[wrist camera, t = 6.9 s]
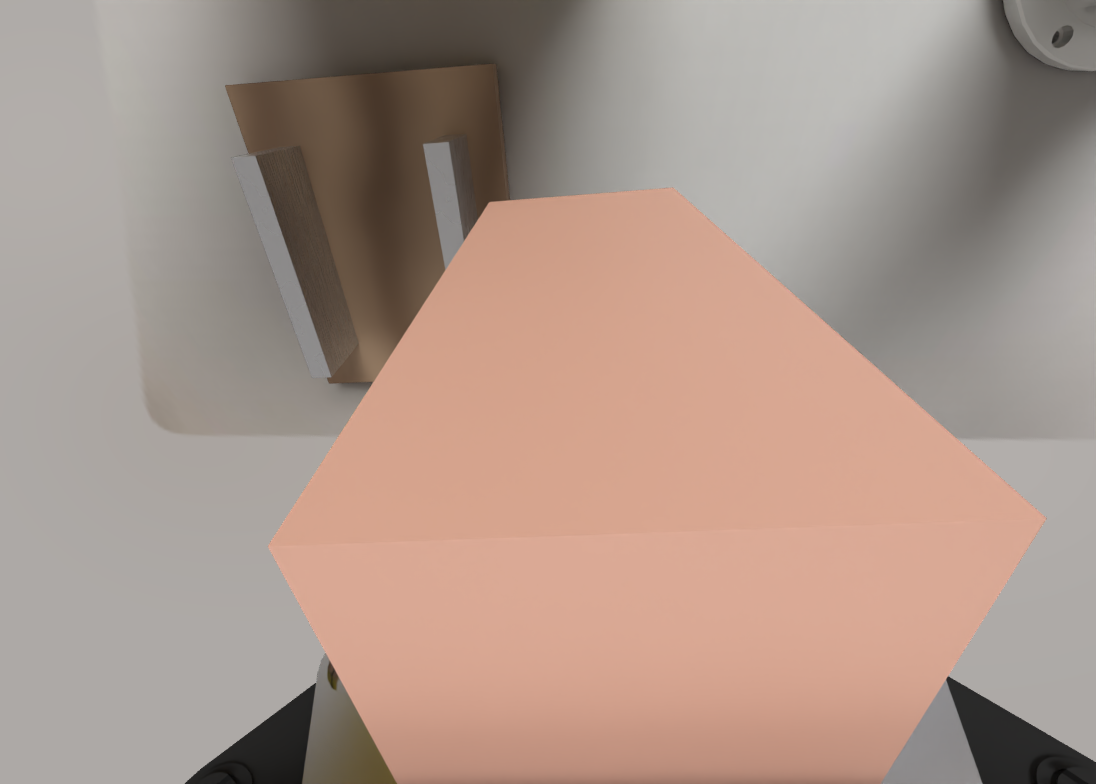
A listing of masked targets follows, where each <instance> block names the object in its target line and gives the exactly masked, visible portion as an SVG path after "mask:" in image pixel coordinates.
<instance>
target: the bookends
mask: <svg viewBox="0 0 1096 784" xmlns="http://www.w3.org/2000/svg"><path fill="white" fill-rule="evenodd" d="M423 148H424V153H425V159H426V164H427V170H428V176H429V181H430V187H431V192H432V198H433V203H434V209H435V215H436V220H437V226H438V231H439V237H440V242H441V248H442V254H443V259H444V265H445V270H446V269H447V267H448V266H449V264H450V262H451V261H452V259H453V258H454V256H455V255H456V253H457V252H458V250H459V248H460V247H461V245H462V244H463V242H464V241H465V239H466V238H467V236H468V234H469V233H470V231H471V230H472V228H473V227H474V225H475V224H476V222H477V220H478V217H477V209H476V202H475V195H474V187H473V180H472V173H471V165H470V158H469V151H468V143H467V136H466V134H456V135H444V136H441V137H439V138H436V139H434V140H431V141H429V142H426V143H424V144H423ZM231 159H232V162H233V165H234V168H235V170H236V173H237V176H238V178H239V181H240V184H241V187H242V189H243V192H244V195H245V197H246V200H247V203H248V206H249V208H250V211H251V214H252V216H253V219H254V222H255V225H256V227H257V230H258V233H259V235H260V238H261V241H262V244H263V246H264V249H265V252H266V254H267V257H268V260H269V263H270V265H271V268H272V271H273V273H274V276H275V279H276V282H277V284H278V287H279V290H280V292H281V295H282V298H283V301H284V303H285V306H286V309H287V311H288V314H289V317H290V320H291V322H292V325H293V328H294V330H295V333H296V336H297V339H298V341H299V344H300V347H301V349H302V352H303V355H304V358H305V360H306V363H307V366H308V368H309V371H310V374H311V377H312V378H326V377H332V376H333V375H334V374H335V372H336V371H337V370H338V369H339V367H340V366H341V365H342V364H343V363H344V361H345V360H346V359H347V358H348V356H349V355H350V354H351V353H352V351H353V350H354V349H355V348H356V347H357V345H358V344H359V343H358V339H357V336H356V332H355V329H354V326H353V322H352V319H351V316H350V312H349V309H348V306H347V302H346V299H345V296H344V292H343V289H342V285H341V282H340V279H339V275H338V272H337V269H336V265H335V262H334V259H333V255H332V252H331V249H330V245H329V242H328V238H327V235H326V232H325V228H324V225H323V222H322V218H321V215H320V212H319V208H318V205H317V202H316V198H315V195H314V191H313V188H312V185H311V181H310V178H309V175H308V171H307V168H306V165H305V161H304V158H303V155H302V151H301V148H300V146H290V147H278V148H273V149H269V150H264V151H259V152H255V153H250V154H245V155H241V156H236V157H231Z"/></svg>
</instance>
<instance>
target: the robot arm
mask: <svg viewBox="0 0 1096 784" xmlns="http://www.w3.org/2000/svg"><path fill="white" fill-rule="evenodd" d="M1003 3H1004V10H1005V15H1006V17H1007V20H1008V22H1009V24H1010V27H1011V29H1012V31H1013V34H1014V36H1015V37H1016V39H1017V40H1018V41H1019V42H1020V43H1021V45H1022V46H1023V47H1024V48H1025V50H1026V51H1027V52H1028V53H1029V54H1031V55H1032V56H1034V57H1036V58H1037V59H1039V60H1040V61H1042V62H1043V63H1045V64H1047V65H1050V66H1054V67H1057V68H1061V69H1064V70H1074V71H1096V0H1003ZM185 784H397V783H396V781H395V779H394V777H393V776H392V774H391V772H390V770H389V768H388V766H387V765H386V763H385V761H384V759H383V757H382V755H381V754H380V752H379V750H378V748H377V746H376V744H375V742H374V741H373V739H372V737H371V735H370V733H369V731H368V730H367V728H366V726H365V724H364V722H363V720H362V719H361V717H360V715H359V713H358V711H357V709H356V708H355V706H354V704H353V702H352V700H351V698H350V697H349V695H348V693H347V691H346V689H345V687H344V685H343V684H342V682H341V680H340V678H339V676H338V674H337V673H336V671H335V669H334V667H333V665H332V663H331V662H330V660H329V658H328V656H327V654H326V653H325V655H324V656H323V658H322V660H321V664H320V667H319V670H318V674H317V681H316V683H315V684H314V685H312V686H311V687H310V688H308V689H307V690H306V691H304V692H303V693H302V694H300V695H299V696H298V697H297V698H295V699H294V700H292V701H291V702H290V703H288V704H287V705H286V706H284V707H283V708H282V709H281V710H279V711H278V712H276V713H275V714H274V715H272V716H271V717H270V718H268V719H267V720H266V721H264V722H263V723H262V724H260V725H259V726H258V727H256V728H255V729H254V730H252V731H251V732H249V733H248V734H247V735H245V736H244V737H243V738H241V739H240V740H239V741H237V742H236V743H235V744H233V745H232V746H231V747H229V748H228V749H227V750H225V751H224V752H223V753H221V754H220V755H219V756H217V757H216V758H215V759H214V760H212V761H211V762H209V763H208V764H207V765H205V766H204V767H203V768H201V769H200V770H199V771H198V772H197V773H196V774H195V775H194V776H193V777H191V778H190V779H189V780H188V781H187V782H186V783H185ZM881 784H1096V762H1094V761H1093V760H1091V759H1089V758H1088V757H1086V756H1084V755H1082V754H1081V753H1079V752H1077V751H1076V750H1074V749H1072V748H1070V747H1069V746H1067V745H1065V744H1063V743H1062V742H1060V741H1058V740H1056V739H1055V738H1053V737H1051V736H1050V735H1048V734H1046V733H1045V732H1043V731H1041V730H1039V729H1038V728H1036V727H1034V726H1033V725H1031V724H1029V723H1027V722H1026V721H1024V720H1022V719H1021V718H1019V717H1017V716H1015V715H1014V714H1012V713H1010V712H1008V711H1007V710H1005V709H1003V708H1002V707H1000V706H998V705H996V704H995V703H993V702H991V701H990V700H988V699H986V698H984V697H983V696H981V695H979V694H977V693H976V692H974V691H972V690H971V689H969V688H967V687H966V686H964V685H962V684H960V683H958V682H957V681H955V680H953V679H952V678H950V677H947V678H946V680H945V682H944V683H943V685H942V686H941V688H940V690H939V691H938V693H937V694H936V696H935V698H934V699H933V701H932V702H931V704H930V706H929V707H928V709H927V710H926V712H925V714H924V715H923V717H922V718H921V720H920V722H919V723H918V725H917V726H916V728H915V730H914V731H913V733H912V734H911V736H910V738H909V739H908V741H907V742H906V744H905V746H904V747H903V749H902V750H901V752H900V754H899V755H898V757H897V758H896V760H895V761H894V763H893V765H892V766H891V768H890V769H889V771H888V773H887V774H886V776H885V777H884V779H883V781H882V782H881Z"/></svg>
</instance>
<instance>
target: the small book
mask: <svg viewBox="0 0 1096 784" xmlns="http://www.w3.org/2000/svg"><path fill="white" fill-rule="evenodd" d="M1045 520H1046V517H1045V516H1043V515H1042V514H1041V513H1040V512H1039V511H1038V510H1037V509H1036V508H1034V507H1033V506H1032V505H1031V504H1030V503H1029V502H1028V501H1026V500H1025V499H1024V498H1023V497H1022V496H1021V495H1020V494H1019V493H1018V492H1016V491H1015V490H1014V489H1013V488H1012V487H1011V486H1010V485H1009V484H1007V483H1006V482H1005V481H1004V480H1003V479H1002V478H1001V477H999V476H998V475H997V474H996V473H995V472H994V471H993V470H991V469H990V468H989V467H988V466H987V465H986V464H985V463H984V462H983V461H981V460H980V459H979V458H978V457H977V456H976V455H975V454H974V453H972V452H971V451H970V450H969V449H968V448H967V447H966V446H964V445H963V444H962V443H961V442H960V441H959V440H958V439H957V438H955V437H954V436H953V435H952V434H951V433H950V432H949V431H948V430H946V429H945V428H944V427H943V426H942V425H941V424H940V423H938V422H937V421H936V420H935V419H934V418H933V417H932V416H931V415H929V414H928V413H927V412H926V411H925V410H924V409H923V408H922V407H920V406H919V405H918V404H917V403H916V402H915V401H914V400H913V399H911V398H910V397H909V396H908V395H907V394H906V393H905V392H903V391H902V390H901V389H900V388H899V387H898V386H897V385H896V384H894V383H893V382H892V381H891V380H890V379H889V378H888V377H887V376H885V375H884V374H883V373H882V372H881V371H880V370H879V369H878V368H876V367H875V366H874V365H873V364H872V363H871V362H870V361H868V360H867V359H866V358H865V357H864V356H863V355H862V354H861V353H859V352H858V351H857V350H856V349H855V348H854V347H853V346H852V345H850V344H849V343H848V342H847V341H846V340H845V339H844V338H842V337H841V336H840V335H839V334H838V333H837V332H836V331H835V330H833V329H832V328H831V327H830V326H829V325H828V324H827V323H826V322H824V321H823V320H822V319H821V318H820V317H819V316H818V315H817V314H815V313H814V312H813V311H812V310H811V309H810V308H809V307H807V306H806V305H805V304H804V303H803V302H802V301H801V300H800V299H798V298H797V297H796V296H795V295H794V294H793V293H792V292H791V291H789V290H788V289H787V288H786V287H785V286H784V285H783V284H782V283H780V282H779V281H778V280H777V279H776V278H775V277H774V276H772V275H771V274H770V273H769V272H768V271H767V270H766V269H765V268H763V267H762V266H761V265H760V264H759V263H758V262H757V261H756V260H754V259H753V258H752V257H751V256H750V255H749V254H748V253H746V252H745V251H744V250H743V249H742V248H741V247H740V246H739V245H737V244H736V243H735V242H734V241H733V240H732V239H731V238H730V237H728V236H727V235H726V234H725V233H724V232H723V231H722V230H721V229H719V228H718V227H717V226H716V225H715V224H714V223H713V222H711V221H710V220H709V219H708V218H707V217H706V216H705V215H704V214H702V213H701V212H700V211H699V210H698V209H697V208H696V207H695V206H693V205H692V204H691V203H690V202H689V201H688V200H687V199H686V198H684V197H683V196H682V195H681V194H680V193H679V192H678V191H676V190H675V189H674V188H662V189H649V190H636V191H623V192H611V193H598V194H585V195H572V196H559V197H547V198H534V199H521V200H508V201H495V202H489V203H488V205H487V206H486V208H485V210H484V211H483V213H482V214H481V216H480V217H479V219H478V220H477V222H476V224H475V225H474V227H473V228H472V230H471V231H470V233H469V234H468V236H467V238H466V239H465V241H464V242H463V244H462V245H461V247H460V248H459V250H458V252H457V253H456V255H455V256H454V258H453V259H452V261H451V262H450V264H449V266H448V267H447V269H446V270H445V272H444V273H443V275H442V276H441V278H440V280H439V281H438V283H437V284H436V286H435V287H434V289H433V290H432V292H431V294H430V295H429V297H428V298H427V300H426V301H425V303H424V304H423V306H422V307H421V309H420V311H419V312H418V314H417V315H416V317H415V318H414V320H413V321H412V323H411V325H410V326H409V328H408V329H407V331H406V332H405V334H404V335H403V337H402V339H401V340H400V342H399V343H398V345H397V346H396V348H395V349H394V351H393V353H392V354H391V356H390V357H389V359H388V360H387V362H386V363H385V365H384V367H383V368H382V370H381V371H380V373H379V374H378V376H377V377H376V379H375V381H374V382H373V384H372V385H371V387H370V388H369V390H368V391H367V393H366V395H365V396H364V398H363V399H362V401H361V402H360V404H359V405H358V407H357V408H356V410H355V412H354V413H353V415H352V416H351V418H350V419H349V421H348V422H347V424H346V426H345V427H344V429H343V430H342V432H341V433H340V435H339V436H338V438H337V440H336V441H335V443H334V444H333V446H332V447H331V449H330V450H329V452H328V454H327V455H326V457H325V458H324V460H323V461H322V463H321V464H320V466H319V468H318V469H317V471H316V472H315V474H314V475H313V477H312V478H311V480H310V482H309V483H308V485H307V486H306V488H305V489H304V491H303V492H302V494H301V496H300V497H299V499H298V500H297V502H296V503H295V505H294V506H293V508H292V510H291V511H290V513H289V514H288V516H287V517H286V519H285V520H284V522H283V524H282V525H281V527H280V528H279V530H278V531H277V533H276V534H275V536H274V537H273V539H272V541H271V542H270V544H269V545H268V547H269V549H270V551H271V553H272V555H273V557H274V558H275V560H276V562H277V564H278V566H279V568H280V569H281V571H282V573H283V575H284V577H285V579H286V581H287V582H288V584H289V586H290V588H291V590H292V592H293V593H294V595H295V597H296V599H297V601H298V603H299V605H300V606H301V608H302V610H303V612H304V614H305V616H306V617H307V619H308V621H309V623H310V625H311V627H312V628H313V630H314V632H315V634H316V635H317V638H318V639H319V641H320V643H321V645H322V647H323V648H324V650H325V652H326V654H327V656H328V658H329V660H330V662H331V663H332V665H333V667H334V669H335V671H336V673H337V674H338V676H339V678H340V680H341V682H342V684H343V685H344V687H345V689H346V691H347V693H348V695H349V697H350V698H351V700H352V702H353V704H354V706H355V708H356V709H357V711H358V713H359V715H360V717H361V719H362V720H363V722H364V724H365V726H366V728H367V730H368V731H369V733H370V735H371V737H372V739H373V741H374V742H375V744H376V746H377V748H378V750H379V752H380V754H381V755H382V757H383V759H384V761H385V763H386V765H387V766H388V768H389V770H390V772H391V774H392V776H393V777H394V779H395V781H396V783H397V784H881V782H882V781H883V779H884V777H885V776H886V774H887V773H888V771H889V769H890V768H891V766H892V765H893V763H894V761H895V760H896V758H897V757H898V755H899V754H900V752H901V750H902V749H903V747H904V746H905V744H906V742H907V741H908V739H909V738H910V736H911V734H912V733H913V731H914V730H915V728H916V726H917V725H918V723H919V722H920V720H921V718H922V717H923V715H924V714H925V712H926V710H927V709H928V707H929V706H930V704H931V702H932V701H933V699H934V698H935V696H936V694H937V693H938V691H939V690H940V688H941V686H942V685H943V683H944V682H945V680H946V678H947V677H948V675H949V674H950V672H951V670H952V669H953V667H954V666H955V664H956V662H957V661H958V659H959V658H960V656H961V654H962V653H963V651H964V650H965V648H966V646H967V645H968V643H969V642H970V640H971V639H972V637H973V635H974V634H975V632H976V631H977V629H978V627H979V626H980V624H981V623H982V621H983V619H984V618H985V616H986V615H987V613H988V611H989V610H990V608H991V606H992V605H993V603H994V602H995V600H996V598H997V597H998V595H999V594H1000V592H1001V591H1002V589H1003V587H1004V586H1005V584H1006V583H1007V581H1008V579H1009V578H1010V576H1011V575H1012V573H1013V571H1014V570H1015V568H1016V567H1017V565H1018V563H1019V562H1020V560H1021V559H1022V557H1023V555H1024V554H1025V552H1026V551H1027V549H1028V547H1029V546H1030V544H1031V543H1032V541H1033V540H1034V538H1035V536H1036V535H1037V533H1038V531H1039V530H1040V528H1041V527H1042V525H1043V523H1044V522H1045Z"/></svg>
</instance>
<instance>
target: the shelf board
mask: <svg viewBox="0 0 1096 784" xmlns="http://www.w3.org/2000/svg"><path fill="white" fill-rule="evenodd" d="M225 87H226V90H227V93H228V96H229V99H230V102H231V104H232V107H233V110H234V113H235V116H236V119H237V122H238V124H239V127H240V130H241V133H242V136H243V139H244V142H245V144H246V147H247V150H248V153H249V154H250V153H255V152H259V151H264V150H269V149H273V148H278V147H290V146H300V148H301V151H302V155H303V158H304V161H305V165H306V168H307V171H308V175H309V178H310V181H311V185H312V188H313V191H314V195H315V198H316V202H317V205H318V208H319V212H320V215H321V218H322V222H323V225H324V228H325V232H326V235H327V238H328V242H329V245H330V249H331V252H332V255H333V259H334V262H335V265H336V269H337V272H338V275H339V279H340V282H341V285H342V289H343V292H344V296H345V299H346V302H347V306H348V309H349V312H350V316H351V319H352V322H353V326H354V329H355V332H356V336H357V339H358V343H359V344H358V345H357V347H356V348H355V349H354V350H353V351H352V353H351V354H350V355H349V356H348V358H347V359H346V360H345V361H344V363H343V364H342V365H341V366H340V367H339V369H338V370H337V371H336V372H335V374H334V375H333V376H332V377H327V379H328V382H329V383H355V382H374V381H375V379H376V377H377V376H378V374H379V373H380V371H381V370H382V368H383V367H384V365H385V363H386V362H387V360H388V359H389V357H390V356H391V354H392V353H393V351H394V349H395V348H396V346H397V345H398V343H399V342H400V340H401V339H402V337H403V335H404V334H405V332H406V331H407V329H408V328H409V326H410V325H411V323H412V321H413V320H414V318H415V317H416V315H417V314H418V312H419V311H420V309H421V307H422V306H423V304H424V303H425V301H426V300H427V298H428V297H429V295H430V294H431V292H432V290H433V289H434V287H435V286H436V284H437V283H438V281H439V280H440V278H441V276H442V275H443V273H444V272H445V265H444V259H443V254H442V248H441V242H440V237H439V231H438V226H437V220H436V215H435V209H434V203H433V198H432V192H431V187H430V181H429V176H428V170H427V164H426V159H425V153H424V148H423V144H424V143H426V142H429V141H431V140H434V139H436V138H439V137H441V136H444V135H456V134H466V136H467V143H468V151H469V158H470V165H471V173H472V180H473V187H474V195H475V202H476V209H477V217H478V219H479V217H480V216H481V214H482V213H483V211H484V210H485V208H486V206H487V205H488V203H489V202H495V201H508V200H510V195H509V185H508V175H507V165H506V155H505V145H504V135H503V126H502V116H501V106H500V96H499V86H498V76H497V66H496V64H481V65H469V66H457V67H445V68H432V69H420V70H408V71H396V72H383V73H371V74H359V75H347V76H334V77H322V78H310V79H298V80H285V81H273V82H261V83H249V84H236V85H225Z"/></svg>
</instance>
